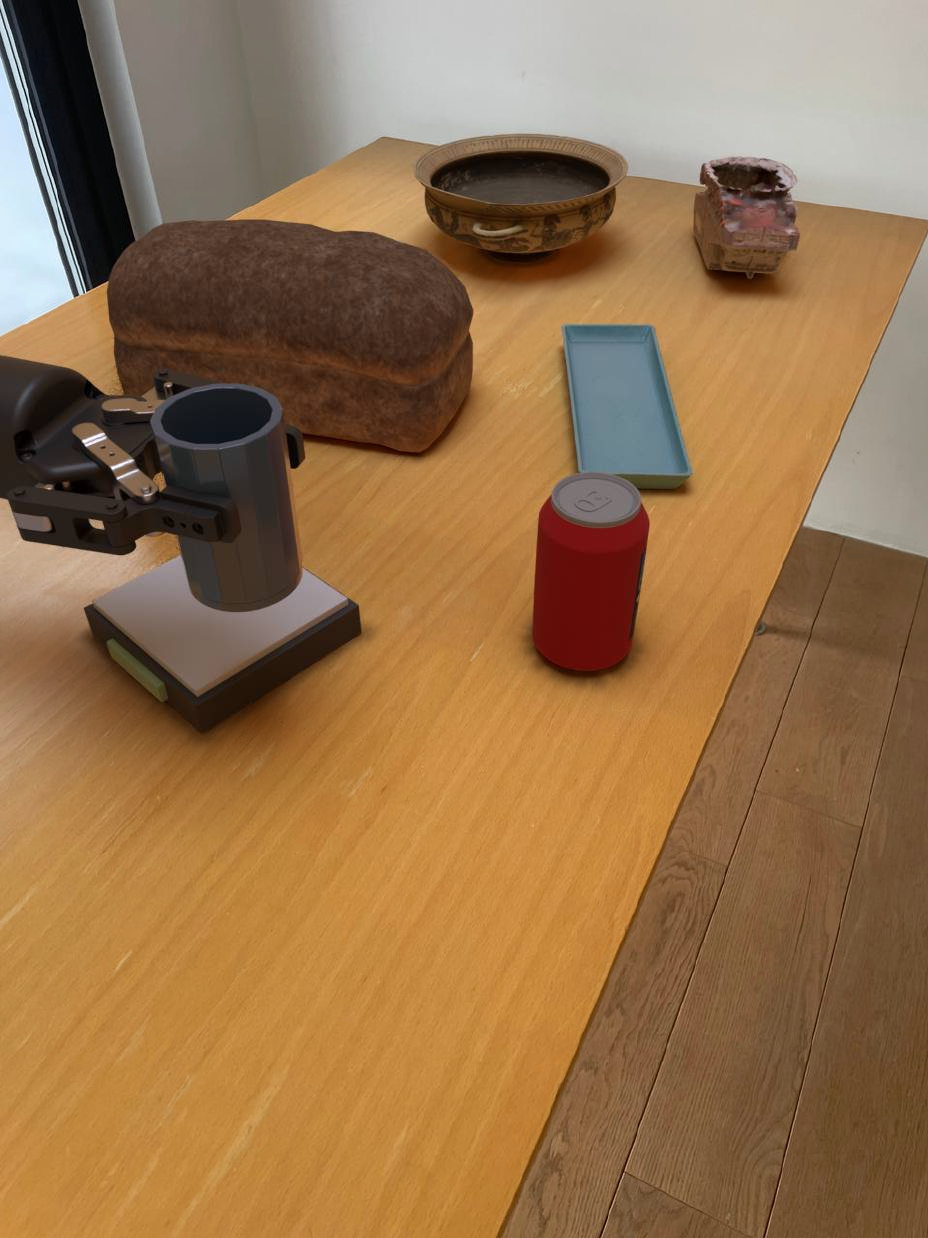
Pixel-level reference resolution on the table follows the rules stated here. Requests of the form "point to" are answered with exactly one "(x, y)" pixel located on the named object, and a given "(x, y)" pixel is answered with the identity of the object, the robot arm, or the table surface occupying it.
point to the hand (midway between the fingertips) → (269, 483)
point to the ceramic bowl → (520, 192)
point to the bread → (299, 324)
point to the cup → (234, 491)
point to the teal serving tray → (623, 405)
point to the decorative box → (745, 214)
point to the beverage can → (589, 570)
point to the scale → (216, 640)
